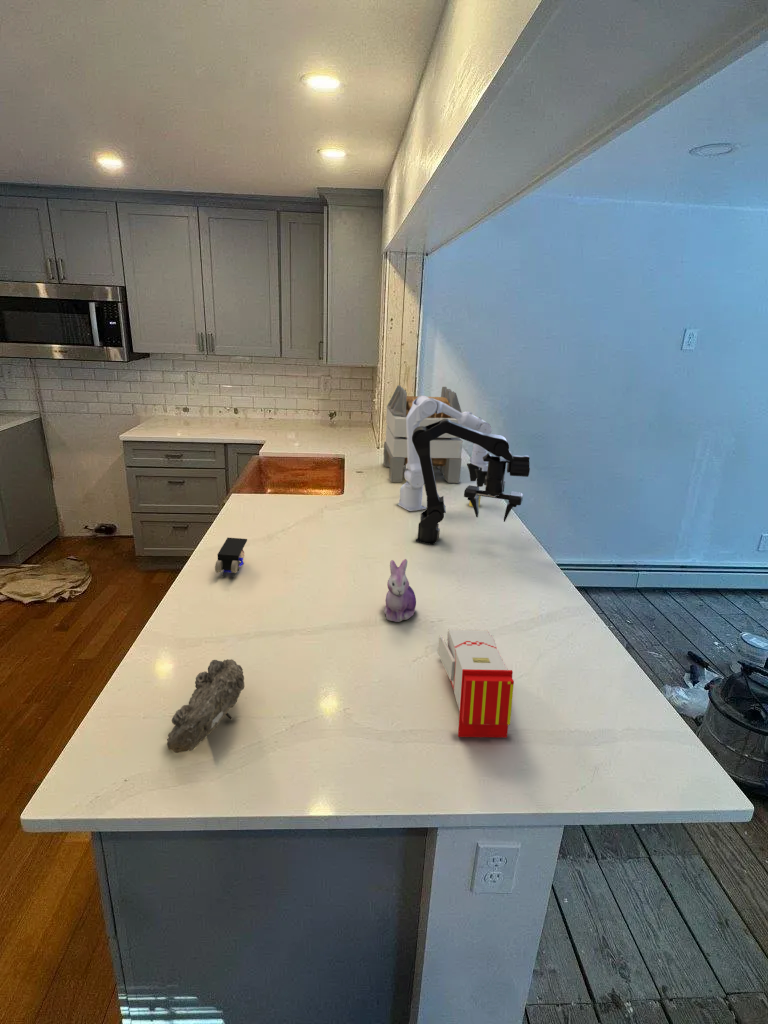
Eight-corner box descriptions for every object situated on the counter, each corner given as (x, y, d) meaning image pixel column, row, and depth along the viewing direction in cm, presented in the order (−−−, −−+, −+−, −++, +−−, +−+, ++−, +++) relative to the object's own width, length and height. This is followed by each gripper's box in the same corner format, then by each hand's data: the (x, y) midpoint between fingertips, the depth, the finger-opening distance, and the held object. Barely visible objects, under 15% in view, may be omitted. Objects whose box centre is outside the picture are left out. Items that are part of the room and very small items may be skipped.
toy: (488, 613, 130) (523, 677, 101) (484, 667, 133) (517, 744, 104) (435, 612, 130) (455, 676, 101) (432, 666, 133) (451, 743, 103)
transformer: (382, 463, 289) (386, 382, 275) (445, 464, 293) (451, 384, 279) (390, 482, 257) (394, 392, 243) (460, 483, 261) (468, 394, 247)
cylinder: (469, 503, 235) (470, 492, 233) (479, 504, 234) (480, 493, 233) (468, 506, 231) (470, 495, 229) (479, 507, 230) (480, 496, 229)
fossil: (192, 660, 117) (244, 628, 112) (224, 691, 120) (276, 661, 115) (142, 746, 98) (202, 712, 93) (182, 779, 101) (242, 748, 96)
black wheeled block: (238, 584, 162) (249, 557, 175) (236, 562, 158) (247, 536, 172) (215, 584, 161) (227, 556, 175) (212, 561, 158) (225, 535, 171)
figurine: (392, 627, 141) (395, 572, 136) (374, 608, 149) (376, 556, 144) (425, 619, 145) (429, 566, 140) (405, 601, 154) (408, 550, 149)
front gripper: (527, 472, 190) (521, 516, 195) (472, 465, 196) (468, 507, 201) (523, 481, 180) (517, 526, 185) (465, 473, 186) (461, 517, 191)
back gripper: (496, 455, 219) (492, 488, 224) (482, 446, 232) (479, 478, 237) (479, 455, 218) (475, 489, 222) (466, 446, 231) (463, 478, 236)
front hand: (490, 519), depth 191 cm, fingers open, 9 cm apart
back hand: (476, 483), depth 230 cm, fingers open, 7 cm apart
